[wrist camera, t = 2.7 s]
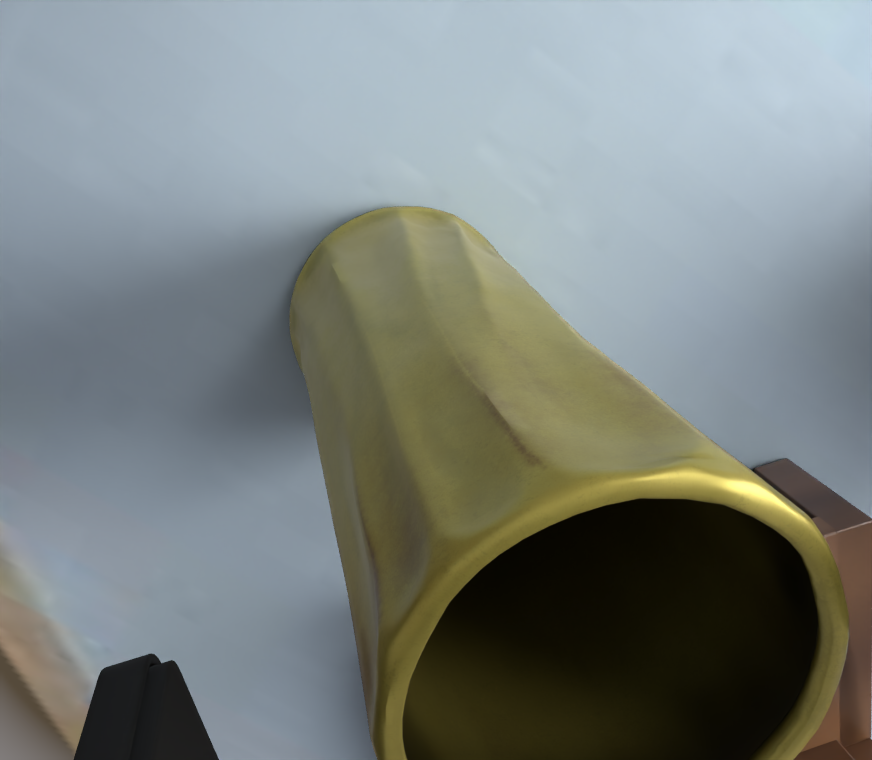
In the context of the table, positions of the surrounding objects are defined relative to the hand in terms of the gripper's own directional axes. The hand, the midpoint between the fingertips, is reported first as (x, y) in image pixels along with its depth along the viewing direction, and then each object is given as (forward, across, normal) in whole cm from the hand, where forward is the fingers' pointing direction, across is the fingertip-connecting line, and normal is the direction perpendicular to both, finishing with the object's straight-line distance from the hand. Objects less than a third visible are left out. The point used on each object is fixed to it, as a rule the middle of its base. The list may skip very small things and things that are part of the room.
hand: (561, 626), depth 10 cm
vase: (+13, 0, -1) cm, 13 cm away
